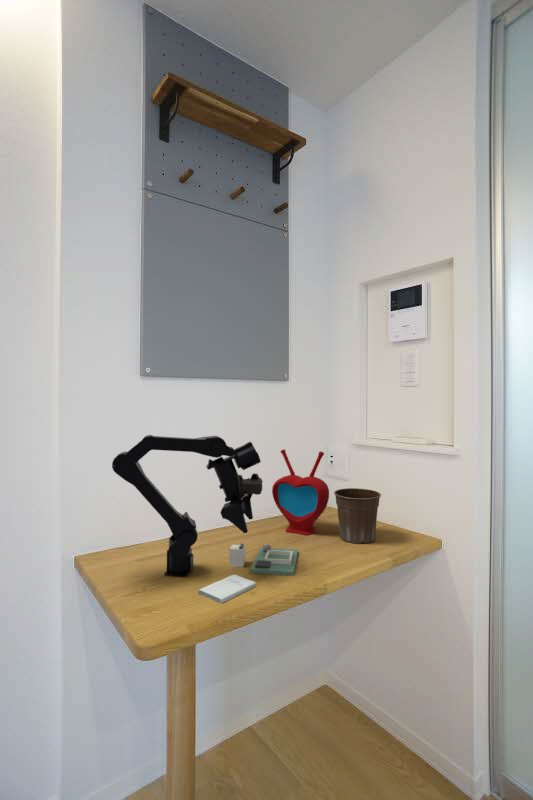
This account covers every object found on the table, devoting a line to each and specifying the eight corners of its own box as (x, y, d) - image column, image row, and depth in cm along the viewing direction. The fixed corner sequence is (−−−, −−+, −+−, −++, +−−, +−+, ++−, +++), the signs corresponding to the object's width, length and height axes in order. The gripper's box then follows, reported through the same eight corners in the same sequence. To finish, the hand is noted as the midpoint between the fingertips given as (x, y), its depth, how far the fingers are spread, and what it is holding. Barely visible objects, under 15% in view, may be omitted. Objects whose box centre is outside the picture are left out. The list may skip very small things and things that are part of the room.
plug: (229, 566, 120) (229, 547, 120) (232, 561, 124) (232, 542, 124) (242, 567, 119) (242, 547, 119) (245, 562, 123) (245, 543, 123)
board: (250, 573, 115) (250, 563, 115) (260, 550, 133) (260, 542, 133) (293, 575, 113) (293, 566, 113) (297, 552, 131) (297, 544, 131)
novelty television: (269, 530, 154) (269, 450, 154) (283, 522, 165) (284, 447, 166) (321, 539, 144) (321, 453, 145) (333, 529, 156) (333, 450, 156)
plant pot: (373, 549, 134) (373, 500, 134) (327, 541, 142) (327, 494, 142) (386, 536, 148) (386, 491, 148) (343, 529, 156) (343, 486, 156)
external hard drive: (198, 595, 102) (233, 579, 112) (221, 606, 97) (255, 588, 107) (198, 589, 102) (233, 573, 112) (221, 599, 97) (255, 581, 107)
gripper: (248, 478, 108) (270, 531, 110) (258, 458, 127) (277, 504, 128) (210, 491, 110) (232, 543, 111) (226, 470, 129) (244, 515, 130)
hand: (248, 525), depth 120 cm, fingers open, 9 cm apart
